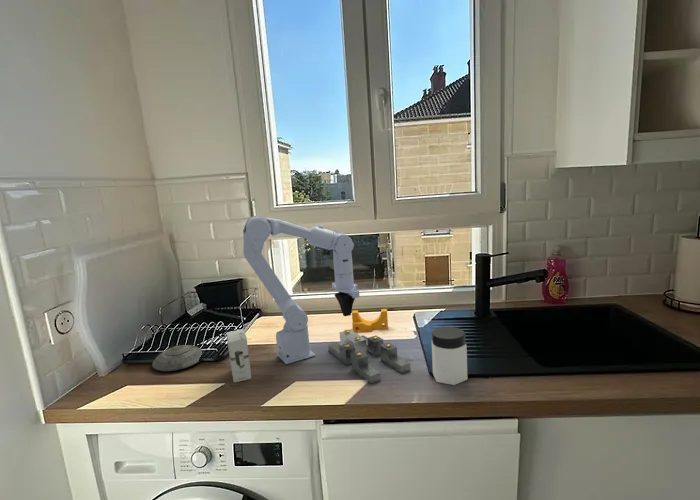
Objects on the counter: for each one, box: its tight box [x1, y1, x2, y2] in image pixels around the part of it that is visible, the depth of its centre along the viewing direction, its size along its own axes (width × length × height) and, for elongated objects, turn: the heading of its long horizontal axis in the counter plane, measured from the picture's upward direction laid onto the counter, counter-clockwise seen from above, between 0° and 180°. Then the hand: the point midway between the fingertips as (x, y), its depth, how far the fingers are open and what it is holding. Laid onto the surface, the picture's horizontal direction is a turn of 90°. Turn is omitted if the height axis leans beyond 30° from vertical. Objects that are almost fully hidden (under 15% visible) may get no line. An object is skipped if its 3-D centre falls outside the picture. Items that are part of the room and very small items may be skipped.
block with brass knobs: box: [339, 329, 368, 356], centre depth 127 cm, size 4×10×6 cm, turn 26°
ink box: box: [226, 328, 252, 383], centre depth 116 cm, size 9×5×12 cm, turn 21°
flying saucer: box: [151, 344, 203, 372], centre depth 127 cm, size 15×15×6 cm
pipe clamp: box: [351, 308, 389, 333], centre depth 143 cm, size 12×4×6 cm, turn 86°
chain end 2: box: [351, 342, 411, 384], centre depth 113 cm, size 12×10×5 cm
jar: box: [430, 326, 468, 386], centre depth 106 cm, size 9×8×12 cm
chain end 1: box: [327, 335, 384, 366], centre depth 125 cm, size 12×12×5 cm
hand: (347, 315), depth 130 cm, fingers closed
